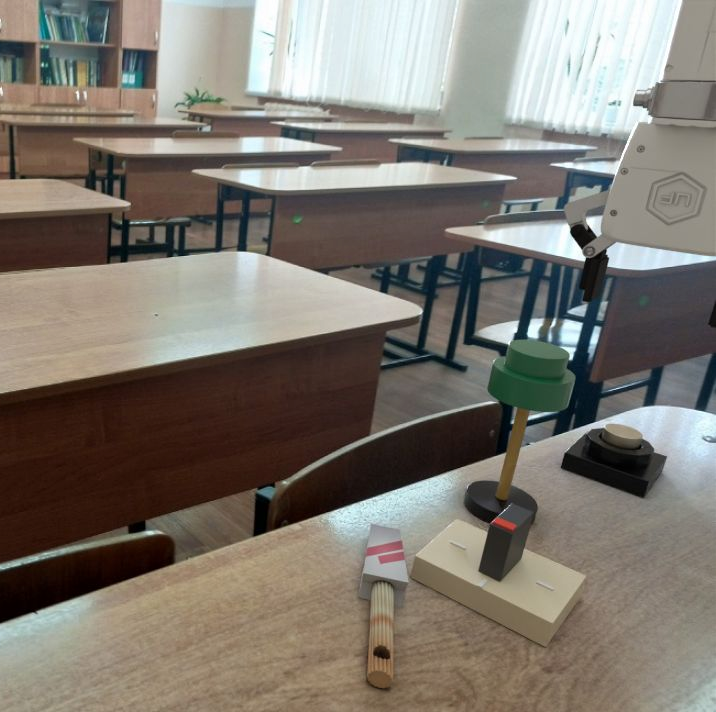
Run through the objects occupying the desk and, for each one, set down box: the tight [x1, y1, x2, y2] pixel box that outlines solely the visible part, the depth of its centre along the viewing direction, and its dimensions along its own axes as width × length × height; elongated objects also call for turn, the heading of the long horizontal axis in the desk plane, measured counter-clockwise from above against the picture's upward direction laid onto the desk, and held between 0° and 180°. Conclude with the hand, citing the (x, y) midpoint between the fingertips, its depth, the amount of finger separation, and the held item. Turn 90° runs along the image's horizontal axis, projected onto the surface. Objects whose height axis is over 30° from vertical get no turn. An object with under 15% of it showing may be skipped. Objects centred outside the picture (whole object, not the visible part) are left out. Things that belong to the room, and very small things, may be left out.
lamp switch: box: [560, 427, 668, 499], centre depth 89 cm, size 9×9×4 cm
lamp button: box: [601, 423, 643, 450], centre depth 88 cm, size 4×4×2 cm
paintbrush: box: [357, 523, 410, 689], centre depth 64 cm, size 4×3×20 cm
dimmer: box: [410, 518, 588, 648], centre depth 66 cm, size 12×9×3 cm
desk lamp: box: [463, 339, 577, 525], centre depth 76 cm, size 8×8×19 cm
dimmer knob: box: [478, 504, 534, 581], centre depth 65 cm, size 5×2×5 cm, turn 135°
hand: (650, 311), depth 65 cm, fingers open, 9 cm apart
